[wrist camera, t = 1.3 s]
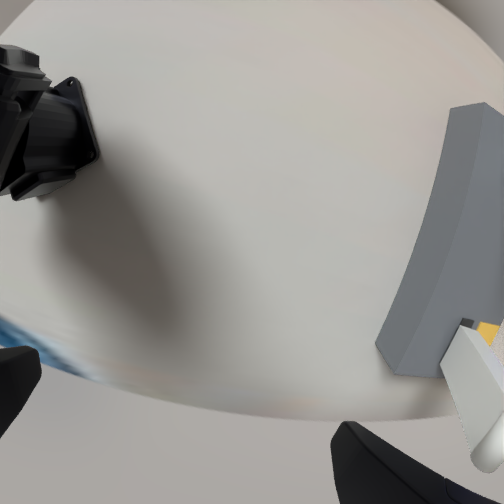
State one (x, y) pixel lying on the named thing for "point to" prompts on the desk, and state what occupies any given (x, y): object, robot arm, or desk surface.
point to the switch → (477, 396)
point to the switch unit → (454, 250)
